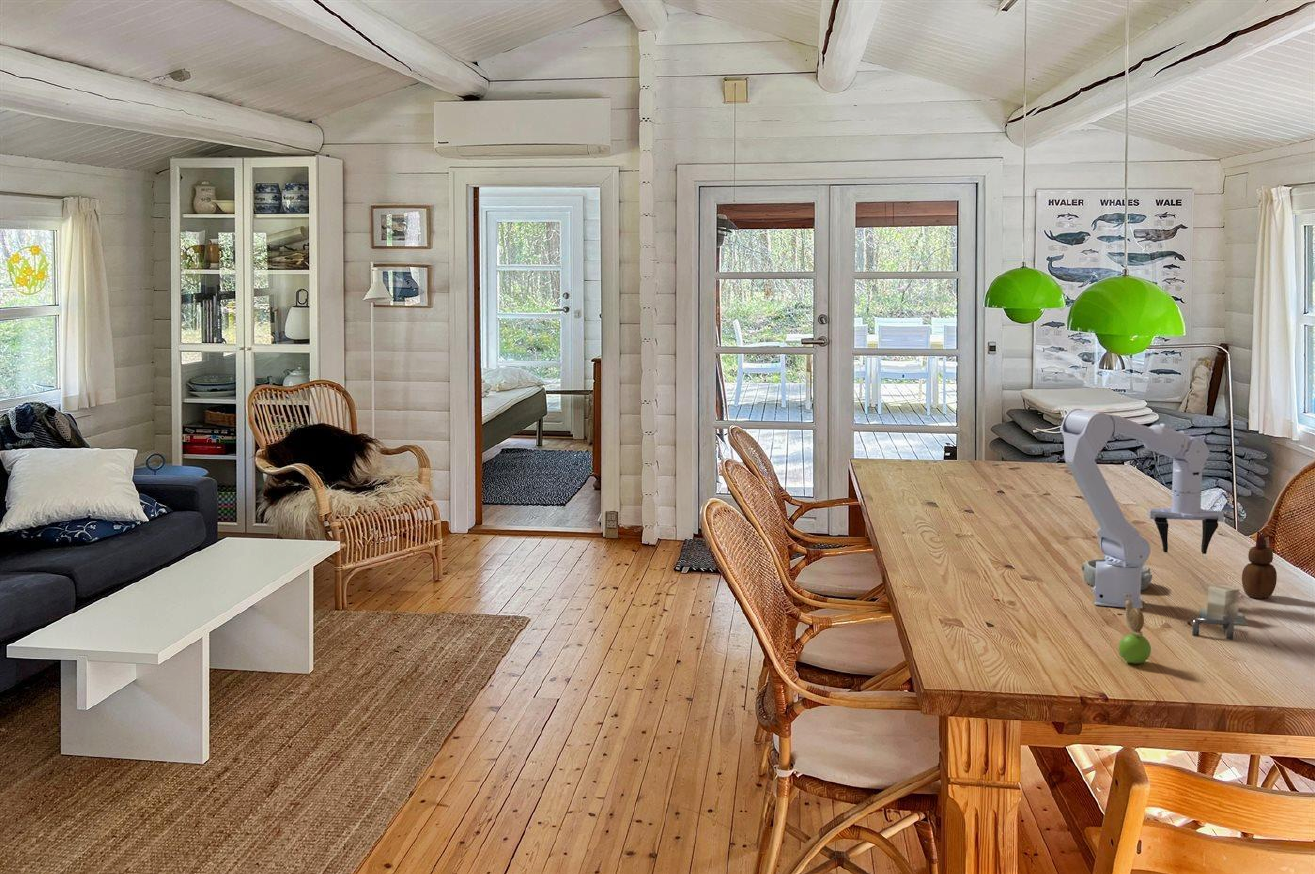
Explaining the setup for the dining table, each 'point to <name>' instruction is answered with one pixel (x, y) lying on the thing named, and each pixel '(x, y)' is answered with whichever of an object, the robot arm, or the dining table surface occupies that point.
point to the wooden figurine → (1259, 571)
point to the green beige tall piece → (1134, 637)
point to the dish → (1090, 565)
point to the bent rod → (1225, 622)
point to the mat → (1237, 621)
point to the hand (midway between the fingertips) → (1184, 552)
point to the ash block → (1222, 601)
